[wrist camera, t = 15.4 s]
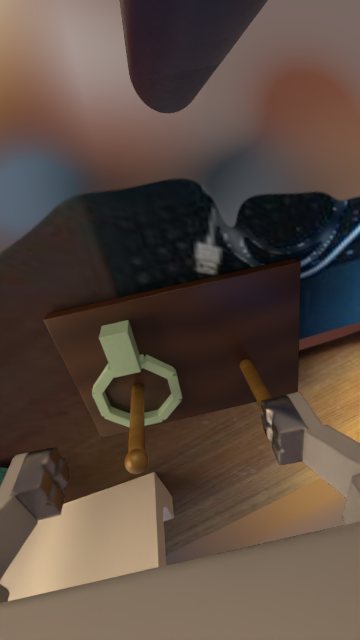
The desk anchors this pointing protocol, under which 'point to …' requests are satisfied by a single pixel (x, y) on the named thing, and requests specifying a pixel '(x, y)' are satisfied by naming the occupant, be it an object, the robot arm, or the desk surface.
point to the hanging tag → (129, 361)
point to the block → (94, 539)
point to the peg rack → (190, 346)
